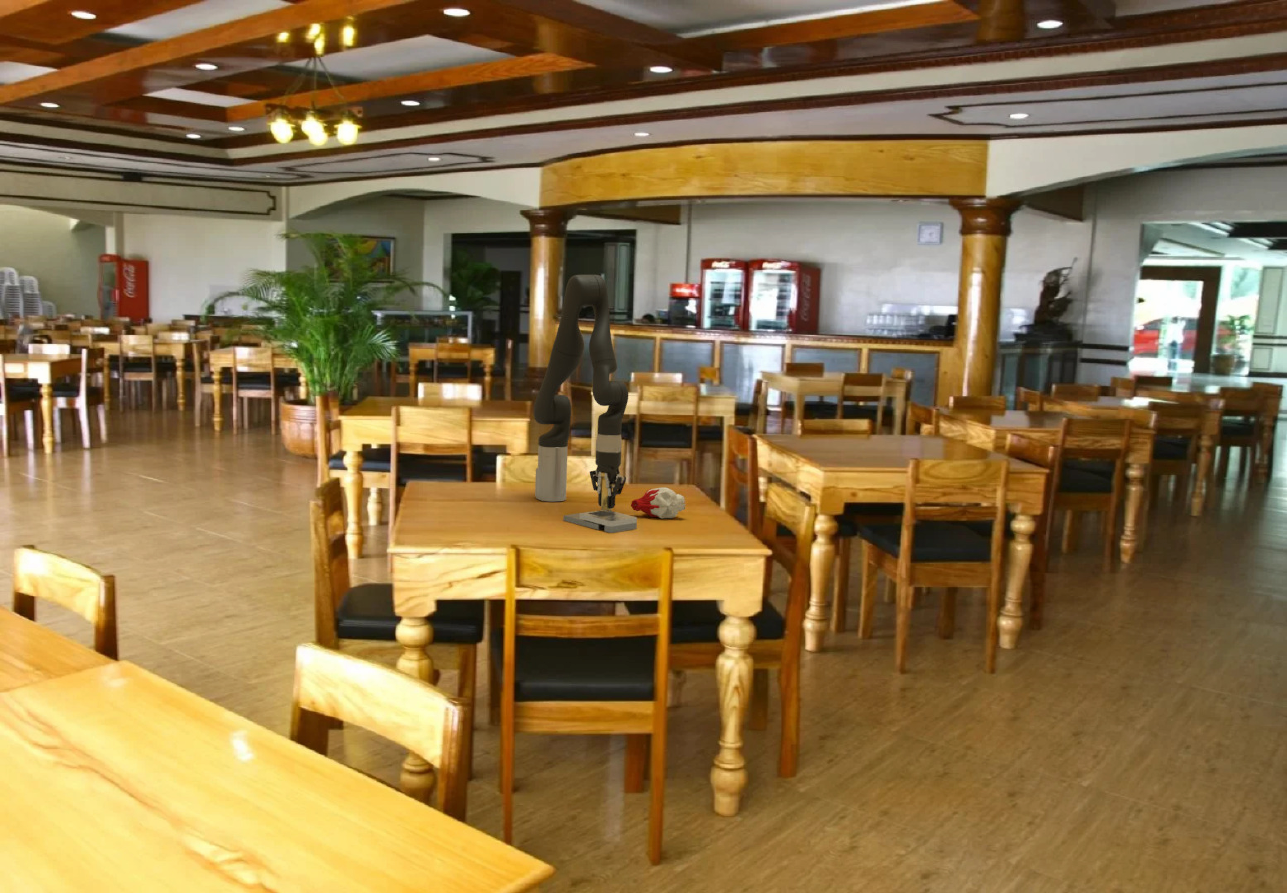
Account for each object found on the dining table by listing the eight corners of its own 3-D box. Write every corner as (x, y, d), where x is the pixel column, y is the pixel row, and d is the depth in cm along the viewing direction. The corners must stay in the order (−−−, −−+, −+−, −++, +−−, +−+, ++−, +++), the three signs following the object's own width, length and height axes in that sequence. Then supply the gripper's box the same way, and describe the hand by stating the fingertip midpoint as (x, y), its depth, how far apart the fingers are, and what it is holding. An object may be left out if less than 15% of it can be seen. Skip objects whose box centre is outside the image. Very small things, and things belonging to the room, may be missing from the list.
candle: (687, 518, 318) (638, 525, 315) (675, 510, 329) (628, 517, 325) (685, 488, 317) (635, 495, 313) (673, 481, 327) (626, 488, 324)
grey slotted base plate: (563, 520, 310) (563, 509, 310) (589, 516, 317) (589, 505, 317) (610, 533, 296) (610, 521, 296) (636, 528, 303) (636, 517, 303)
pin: (596, 515, 318) (597, 471, 316) (606, 513, 321) (608, 470, 319) (605, 517, 315) (607, 474, 313) (616, 516, 318) (617, 472, 316)
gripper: (583, 447, 318) (581, 504, 320) (615, 453, 308) (613, 512, 310) (601, 445, 323) (599, 501, 325) (634, 451, 313) (632, 509, 316)
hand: (606, 506), depth 318 cm, fingers closed on pin, 3 cm apart
